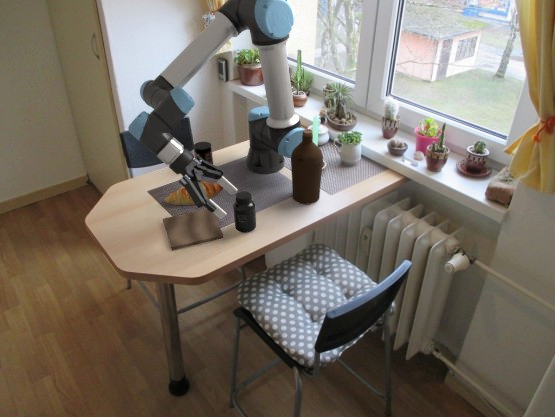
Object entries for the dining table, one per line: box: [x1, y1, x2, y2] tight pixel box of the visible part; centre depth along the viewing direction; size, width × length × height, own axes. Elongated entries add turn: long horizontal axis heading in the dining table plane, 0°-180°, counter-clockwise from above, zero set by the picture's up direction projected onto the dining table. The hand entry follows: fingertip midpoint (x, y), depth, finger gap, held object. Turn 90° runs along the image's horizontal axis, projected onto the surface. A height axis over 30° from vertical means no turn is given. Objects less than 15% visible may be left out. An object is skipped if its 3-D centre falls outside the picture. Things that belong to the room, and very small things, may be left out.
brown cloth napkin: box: [162, 208, 225, 251], centre depth 144 cm, size 16×16×1 cm
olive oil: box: [290, 128, 324, 205], centre depth 153 cm, size 11×11×25 cm
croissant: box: [163, 180, 224, 206], centre depth 159 cm, size 21×10×8 cm, turn 114°
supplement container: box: [192, 141, 214, 165], centre depth 174 cm, size 7×7×10 cm
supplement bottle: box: [232, 190, 257, 234], centre depth 142 cm, size 7×7×12 cm
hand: (229, 204), depth 140 cm, fingers open, 13 cm apart
